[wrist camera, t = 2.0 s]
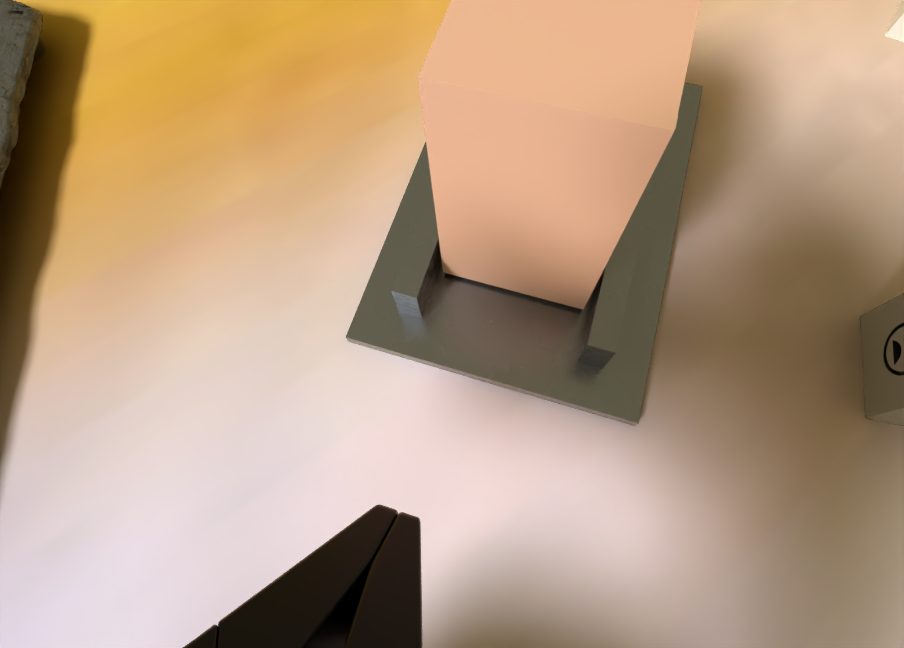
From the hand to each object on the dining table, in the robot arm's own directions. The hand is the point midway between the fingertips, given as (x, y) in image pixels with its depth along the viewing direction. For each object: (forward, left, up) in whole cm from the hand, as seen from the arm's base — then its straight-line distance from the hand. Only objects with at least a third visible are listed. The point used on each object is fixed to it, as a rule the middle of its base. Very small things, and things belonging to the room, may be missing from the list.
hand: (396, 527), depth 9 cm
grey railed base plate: (+12, -12, -14) cm, 21 cm away
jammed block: (+10, -10, -13) cm, 19 cm away
